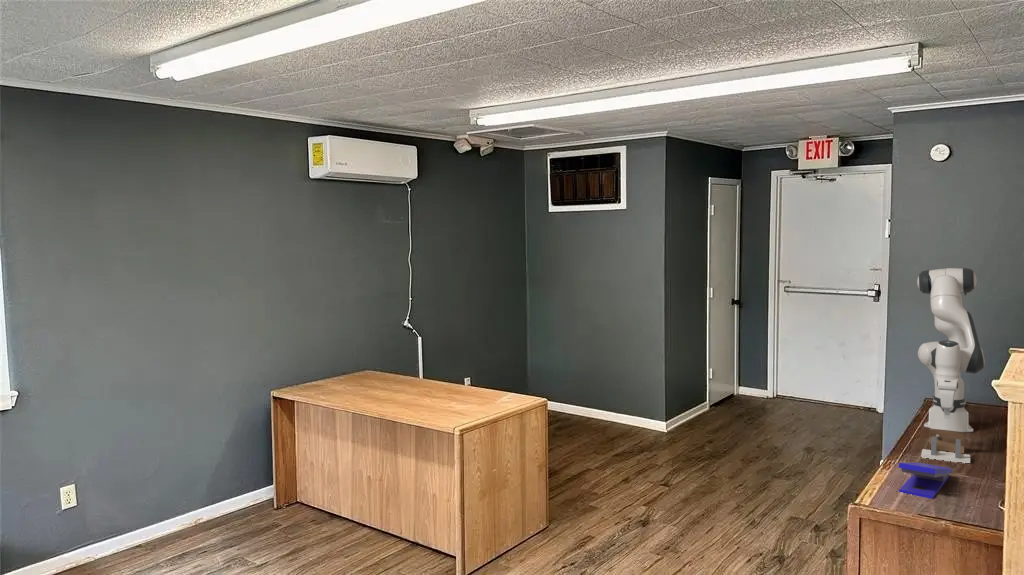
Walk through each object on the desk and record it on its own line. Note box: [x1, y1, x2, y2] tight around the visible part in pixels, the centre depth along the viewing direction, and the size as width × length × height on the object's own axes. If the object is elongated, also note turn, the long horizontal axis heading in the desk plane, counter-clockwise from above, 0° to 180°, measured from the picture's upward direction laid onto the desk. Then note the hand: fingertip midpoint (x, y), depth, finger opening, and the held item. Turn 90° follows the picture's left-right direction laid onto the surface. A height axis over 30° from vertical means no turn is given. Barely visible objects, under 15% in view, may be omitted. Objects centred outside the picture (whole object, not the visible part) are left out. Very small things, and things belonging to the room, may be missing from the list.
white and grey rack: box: [920, 437, 971, 464], centre depth 280 cm, size 8×16×7 cm, turn 58°
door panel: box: [928, 428, 966, 454], centre depth 290 cm, size 4×12×8 cm, turn 58°
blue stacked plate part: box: [898, 462, 953, 500], centre depth 251 cm, size 12×28×10 cm, turn 139°
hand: (947, 416), depth 289 cm, fingers open, 8 cm apart
